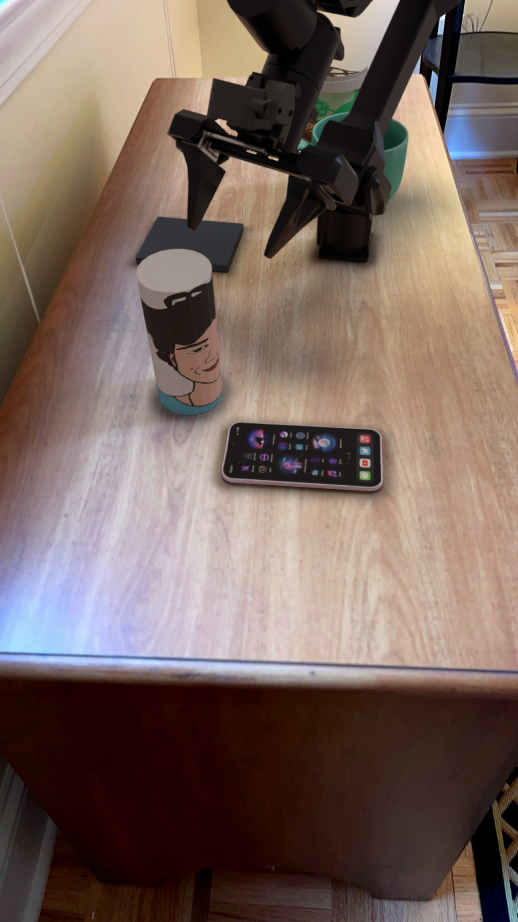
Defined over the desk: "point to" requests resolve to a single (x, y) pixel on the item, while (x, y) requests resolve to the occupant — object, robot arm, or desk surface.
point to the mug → (393, 148)
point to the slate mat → (194, 240)
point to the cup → (181, 329)
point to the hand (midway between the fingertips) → (227, 243)
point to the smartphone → (303, 456)
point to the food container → (336, 94)
